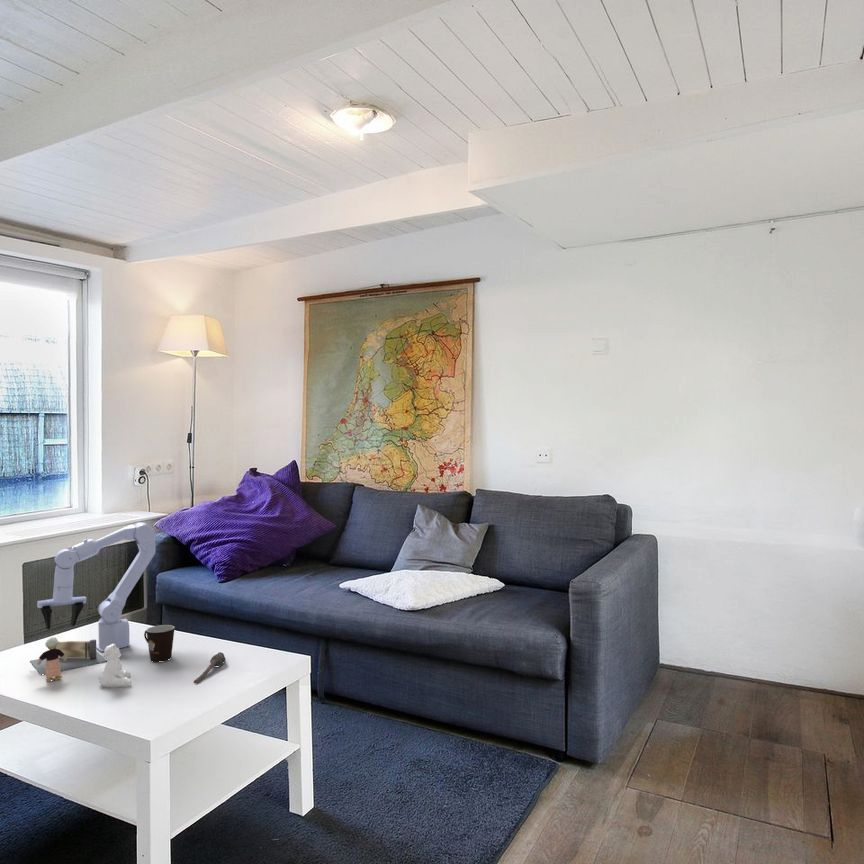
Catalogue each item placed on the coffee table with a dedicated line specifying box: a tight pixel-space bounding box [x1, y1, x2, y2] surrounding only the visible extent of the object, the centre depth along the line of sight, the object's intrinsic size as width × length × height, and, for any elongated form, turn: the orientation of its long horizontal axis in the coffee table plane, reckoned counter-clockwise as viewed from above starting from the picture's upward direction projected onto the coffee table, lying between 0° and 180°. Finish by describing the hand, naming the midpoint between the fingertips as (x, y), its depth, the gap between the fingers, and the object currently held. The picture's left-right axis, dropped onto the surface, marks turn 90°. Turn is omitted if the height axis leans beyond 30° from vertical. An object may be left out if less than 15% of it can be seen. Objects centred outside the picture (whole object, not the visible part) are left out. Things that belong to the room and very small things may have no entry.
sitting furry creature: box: [98, 644, 132, 689], centre depth 201 cm, size 10×9×12 cm
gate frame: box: [29, 639, 108, 676], centre depth 221 cm, size 19×17×7 cm
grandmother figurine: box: [37, 636, 67, 682], centre depth 205 cm, size 8×4×13 cm, turn 135°
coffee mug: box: [143, 624, 175, 663], centre depth 224 cm, size 12×9×10 cm
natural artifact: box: [193, 652, 226, 684], centre depth 212 cm, size 4×23×4 cm, turn 169°
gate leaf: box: [55, 640, 90, 658], centre depth 224 cm, size 12×1×5 cm, turn 86°
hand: (60, 626), depth 228 cm, fingers open, 7 cm apart
